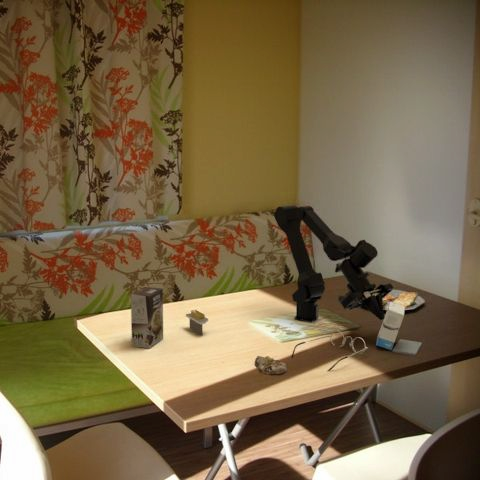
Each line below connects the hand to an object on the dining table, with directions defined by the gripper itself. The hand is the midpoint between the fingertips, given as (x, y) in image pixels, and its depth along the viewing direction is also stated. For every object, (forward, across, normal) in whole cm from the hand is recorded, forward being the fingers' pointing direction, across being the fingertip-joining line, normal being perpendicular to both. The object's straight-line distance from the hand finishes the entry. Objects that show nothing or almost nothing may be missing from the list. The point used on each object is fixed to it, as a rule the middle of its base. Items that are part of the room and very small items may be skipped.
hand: (382, 319), depth 208 cm
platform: (-25, +36, -37) cm, 57 cm away
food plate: (-12, -35, -23) cm, 44 cm away
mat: (+10, -3, -1) cm, 11 cm away
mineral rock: (0, +38, -11) cm, 40 cm away
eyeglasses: (+4, +19, -8) cm, 21 cm away
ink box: (+6, 0, -4) cm, 8 cm away
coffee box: (-27, +54, -37) cm, 71 cm away
